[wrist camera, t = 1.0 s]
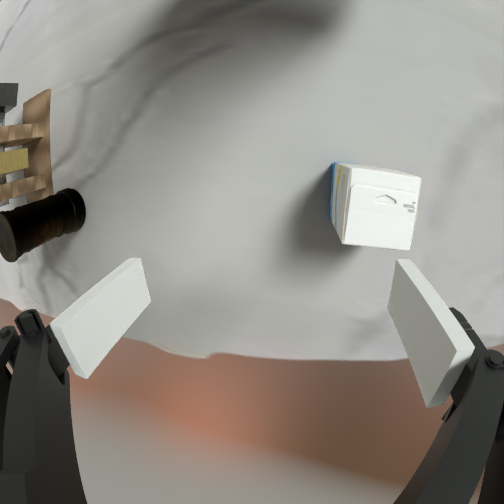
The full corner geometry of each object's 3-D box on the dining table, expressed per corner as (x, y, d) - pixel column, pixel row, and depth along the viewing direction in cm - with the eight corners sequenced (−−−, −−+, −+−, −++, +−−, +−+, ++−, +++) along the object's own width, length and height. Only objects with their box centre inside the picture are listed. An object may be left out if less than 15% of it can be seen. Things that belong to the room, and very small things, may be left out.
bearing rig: (27, 103, 38) (-22, 105, 24) (50, 89, 36) (-4, 87, 22) (31, 201, 46) (-17, 219, 32) (54, 197, 45) (0, 216, 31)
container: (59, 226, 47) (-4, 257, 30) (58, 185, 43) (-10, 207, 27) (86, 235, 46) (20, 272, 30) (86, 190, 43) (12, 216, 26)
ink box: (328, 219, 38) (340, 246, 28) (332, 161, 35) (347, 165, 25) (382, 224, 37) (411, 252, 26) (389, 168, 34) (423, 176, 23)
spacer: (9, 156, 37) (-20, 162, 29) (27, 147, 35) (-5, 153, 28) (10, 173, 38) (-18, 181, 30) (28, 167, 37) (-4, 175, 29)
